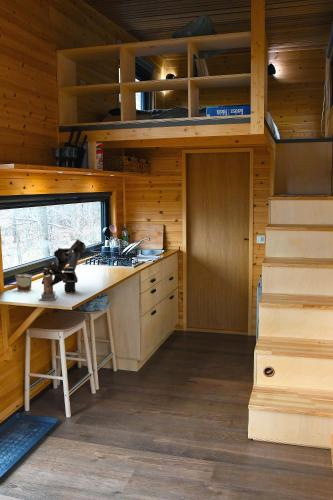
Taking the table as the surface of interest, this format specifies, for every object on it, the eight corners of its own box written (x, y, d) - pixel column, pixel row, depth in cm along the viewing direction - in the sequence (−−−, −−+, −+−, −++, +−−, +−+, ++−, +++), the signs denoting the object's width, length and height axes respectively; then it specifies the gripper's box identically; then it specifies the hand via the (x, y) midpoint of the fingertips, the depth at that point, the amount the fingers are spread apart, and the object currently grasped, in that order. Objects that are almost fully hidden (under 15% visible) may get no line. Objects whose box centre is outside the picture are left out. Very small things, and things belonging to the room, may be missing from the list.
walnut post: (49, 295, 308) (48, 275, 306) (53, 296, 305) (52, 276, 303) (44, 296, 305) (43, 276, 303) (47, 297, 302) (47, 276, 301)
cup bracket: (57, 296, 311) (57, 290, 310) (56, 300, 301) (55, 294, 300) (41, 296, 310) (41, 291, 309) (39, 300, 300) (39, 294, 299)
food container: (36, 289, 332) (36, 274, 330) (31, 291, 326) (30, 276, 325) (21, 287, 336) (20, 273, 334) (15, 289, 330) (15, 275, 328)
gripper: (44, 255, 311) (29, 275, 305) (61, 258, 298) (46, 279, 292) (55, 266, 318) (41, 285, 311) (72, 269, 305) (58, 290, 299)
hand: (46, 285), depth 303 cm, fingers open, 9 cm apart
